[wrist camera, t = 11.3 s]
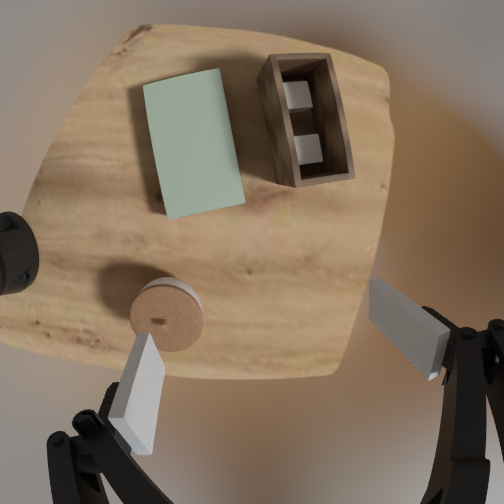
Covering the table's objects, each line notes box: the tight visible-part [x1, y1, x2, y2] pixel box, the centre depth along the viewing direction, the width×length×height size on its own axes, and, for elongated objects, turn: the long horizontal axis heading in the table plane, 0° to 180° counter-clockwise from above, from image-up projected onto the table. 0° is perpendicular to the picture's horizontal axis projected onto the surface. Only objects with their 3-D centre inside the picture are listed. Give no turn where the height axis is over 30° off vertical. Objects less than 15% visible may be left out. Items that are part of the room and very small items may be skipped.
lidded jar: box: [129, 277, 203, 352], centre depth 40 cm, size 11×11×9 cm
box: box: [257, 53, 355, 188], centre depth 35 cm, size 17×8×10 cm, turn 10°
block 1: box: [283, 81, 313, 114], centre depth 36 cm, size 4×4×4 cm
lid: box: [143, 68, 245, 220], centre depth 37 cm, size 20×11×4 cm, turn 10°
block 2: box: [294, 134, 323, 165], centre depth 38 cm, size 4×4×4 cm
